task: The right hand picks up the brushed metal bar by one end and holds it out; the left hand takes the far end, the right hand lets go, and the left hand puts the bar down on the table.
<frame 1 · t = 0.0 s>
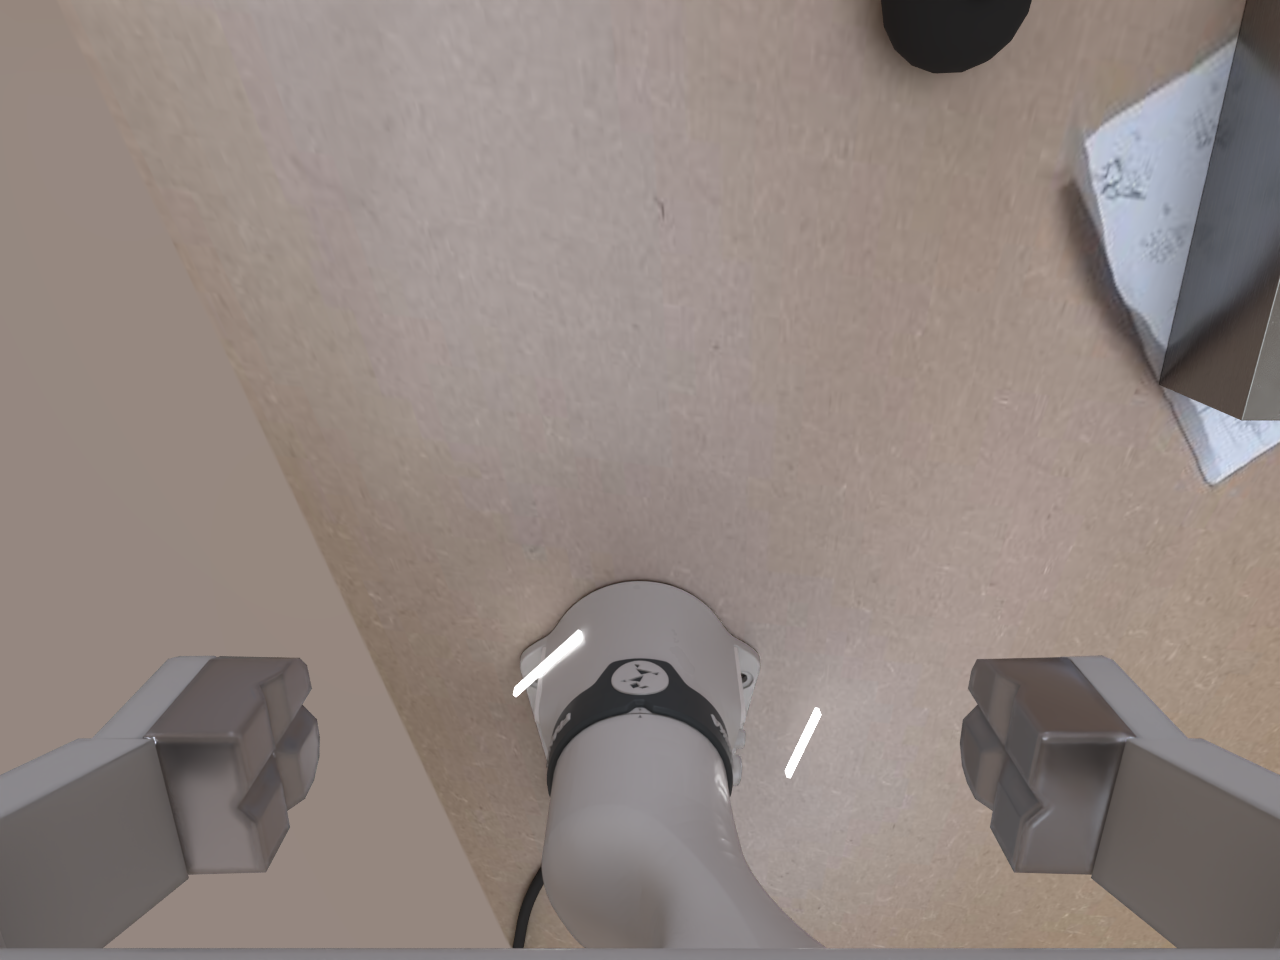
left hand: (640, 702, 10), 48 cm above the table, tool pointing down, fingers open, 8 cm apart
bar: (1246, 175, 53), on the table
bomb: (931, 6, 50), on the table
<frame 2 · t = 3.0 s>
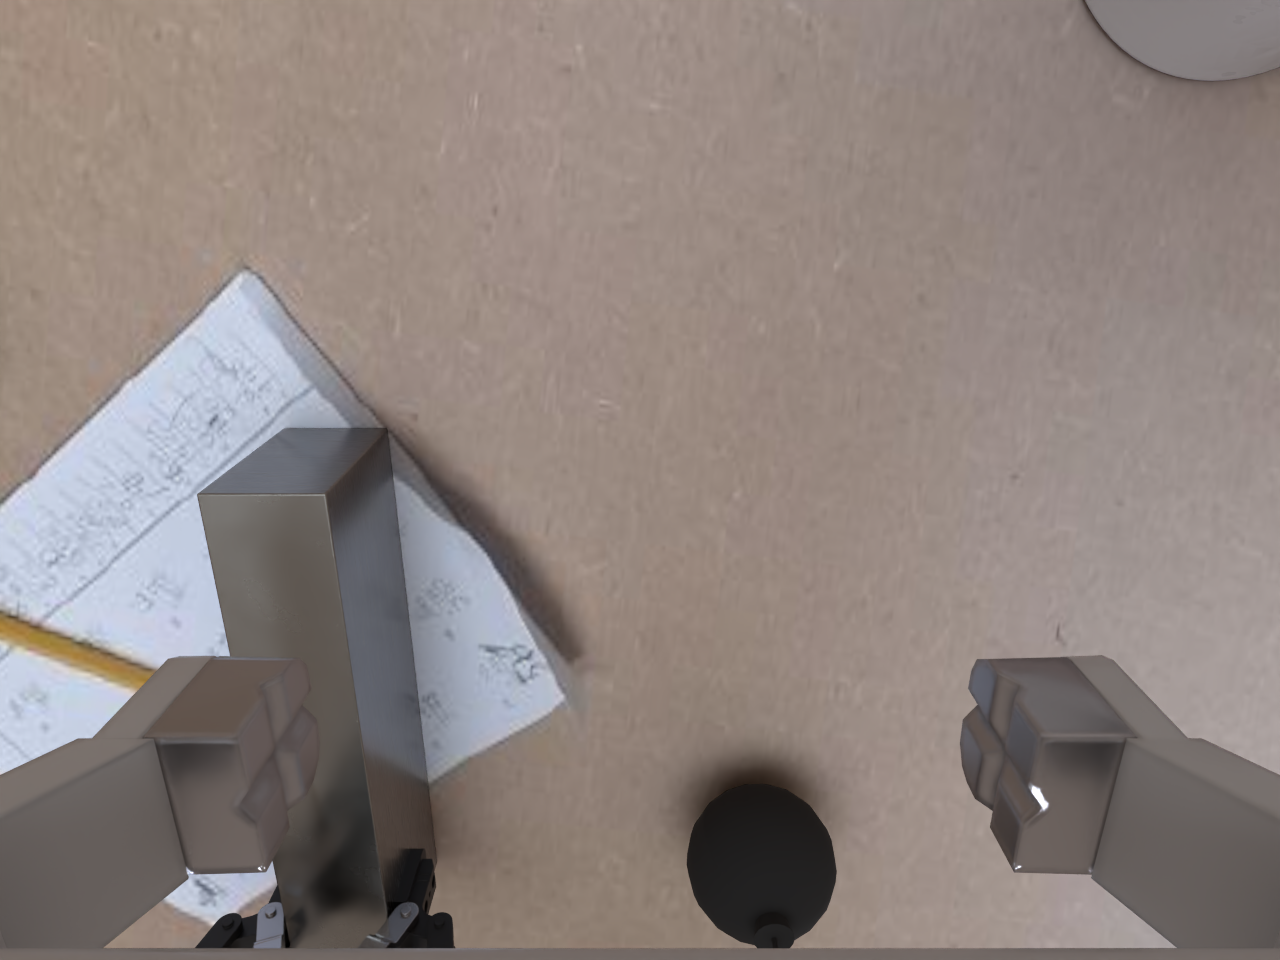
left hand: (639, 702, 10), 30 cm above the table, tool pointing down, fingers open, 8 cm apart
bar: (368, 668, 45), on the table, touching right hand
bomb: (750, 805, 49), on the table
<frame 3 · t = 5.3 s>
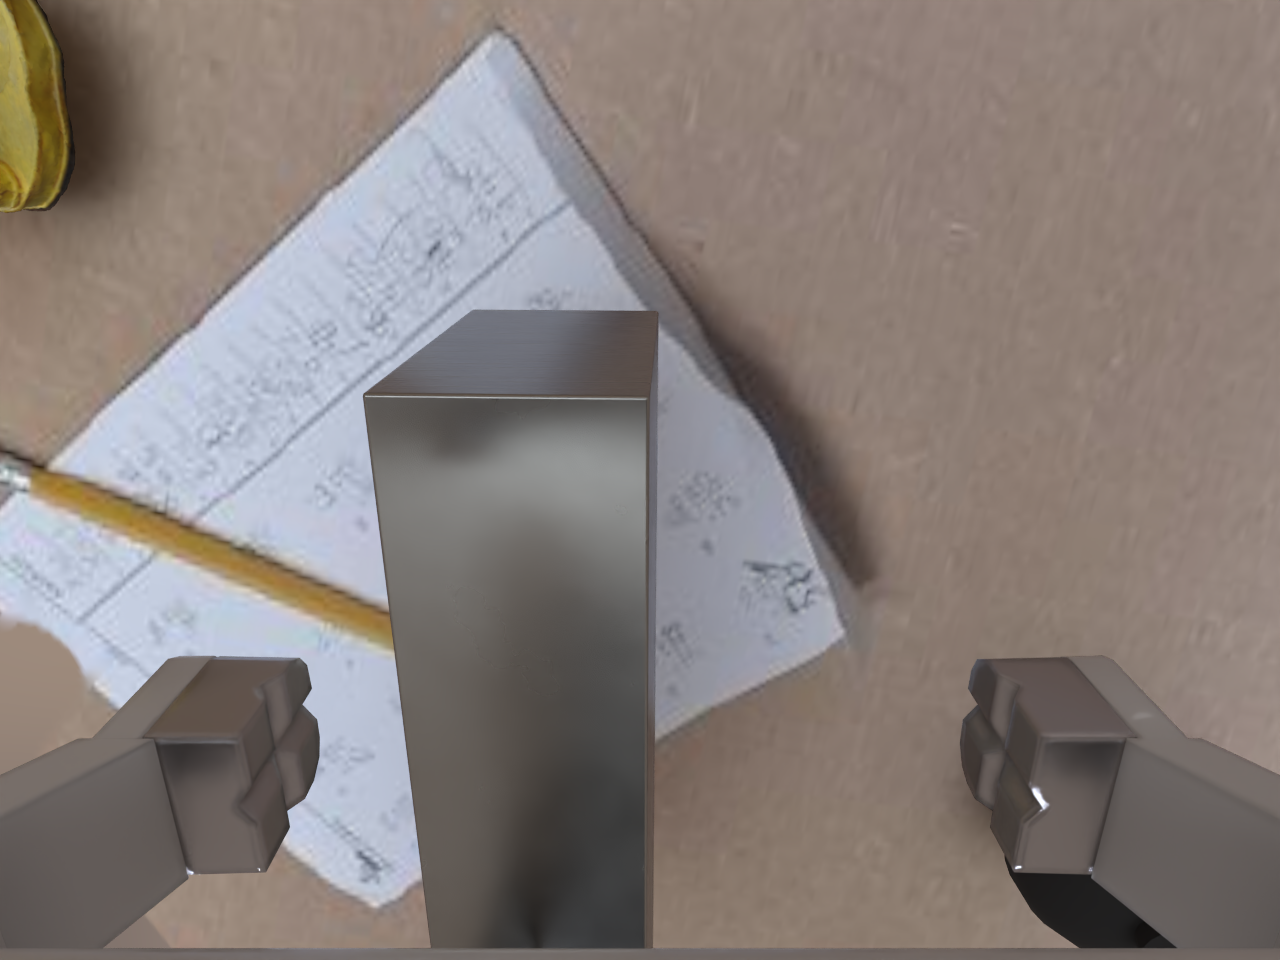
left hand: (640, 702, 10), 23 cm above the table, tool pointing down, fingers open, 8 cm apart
bar: (578, 729, 27), point 9 cm above the table, touching right hand
bomb: (1062, 779, 38), on the table
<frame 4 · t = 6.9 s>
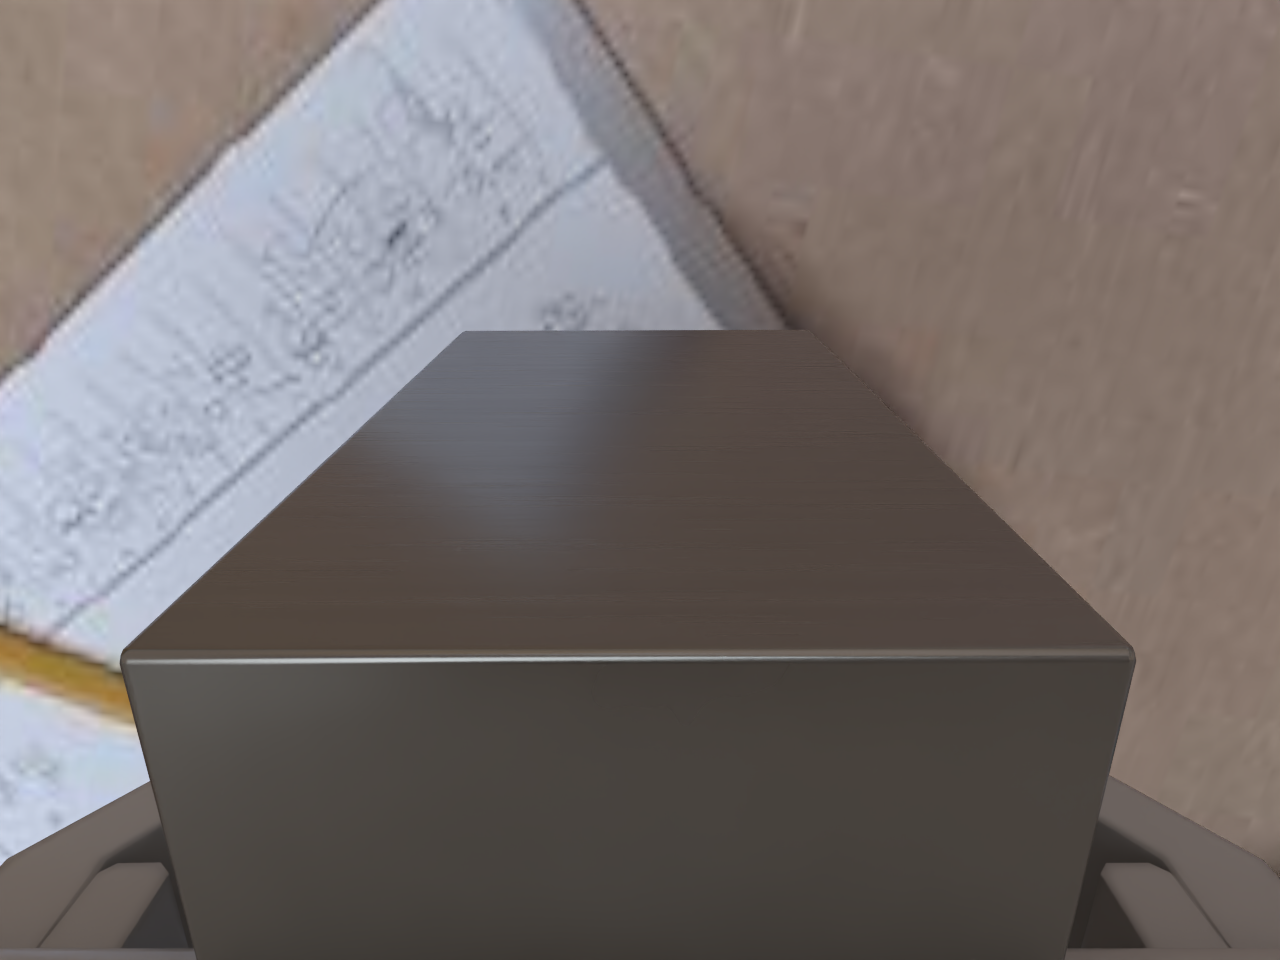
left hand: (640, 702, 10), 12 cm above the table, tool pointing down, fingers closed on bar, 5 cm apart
when the right hand's fingers open (13 cm above the table, at t = 8.1 s): bar stays where it is, held by the left hand.
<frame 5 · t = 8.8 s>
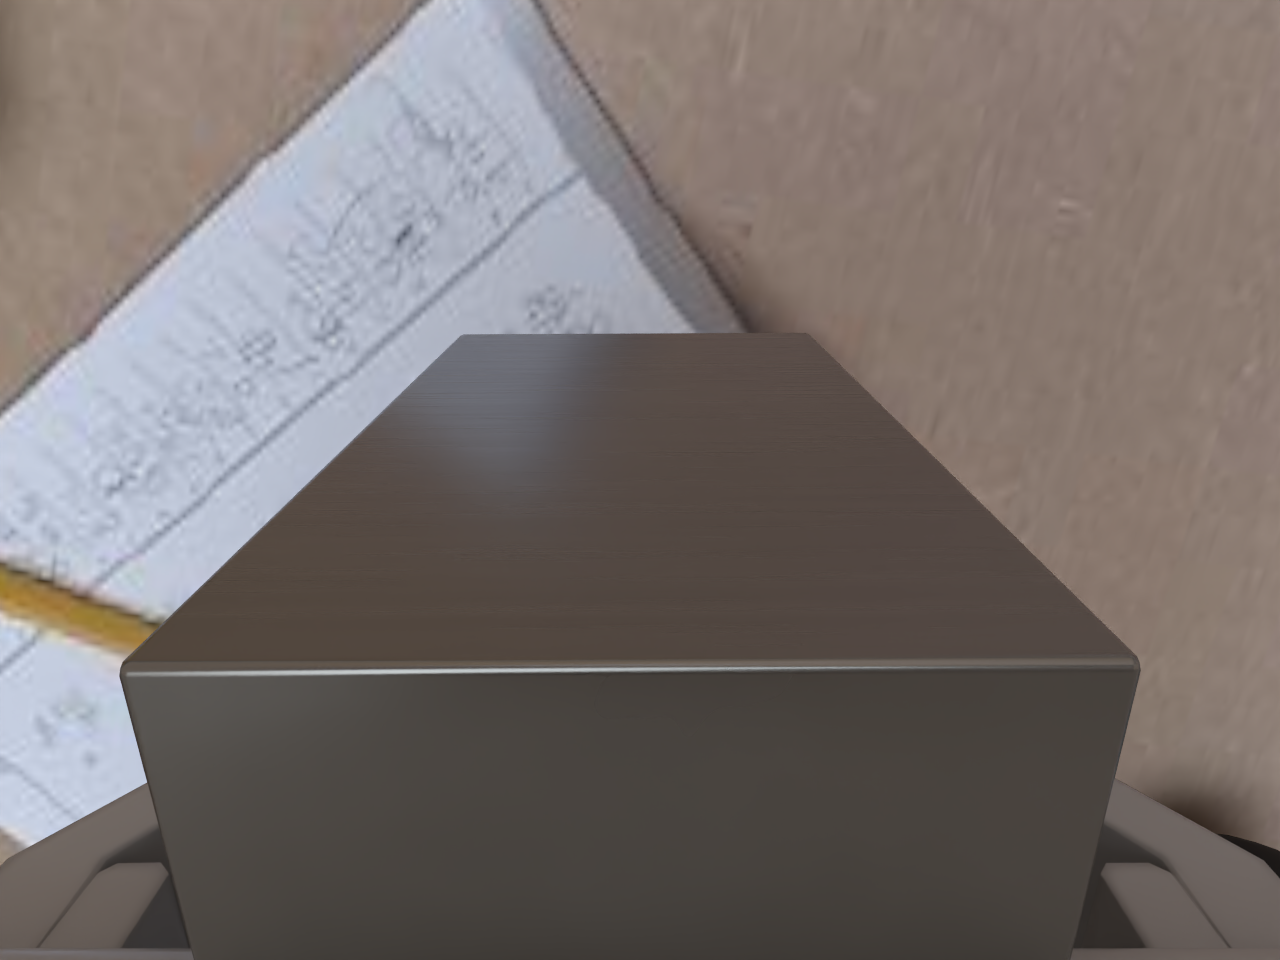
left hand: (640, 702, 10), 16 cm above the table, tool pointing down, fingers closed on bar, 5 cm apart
bomb: (1161, 863, 33), on the table
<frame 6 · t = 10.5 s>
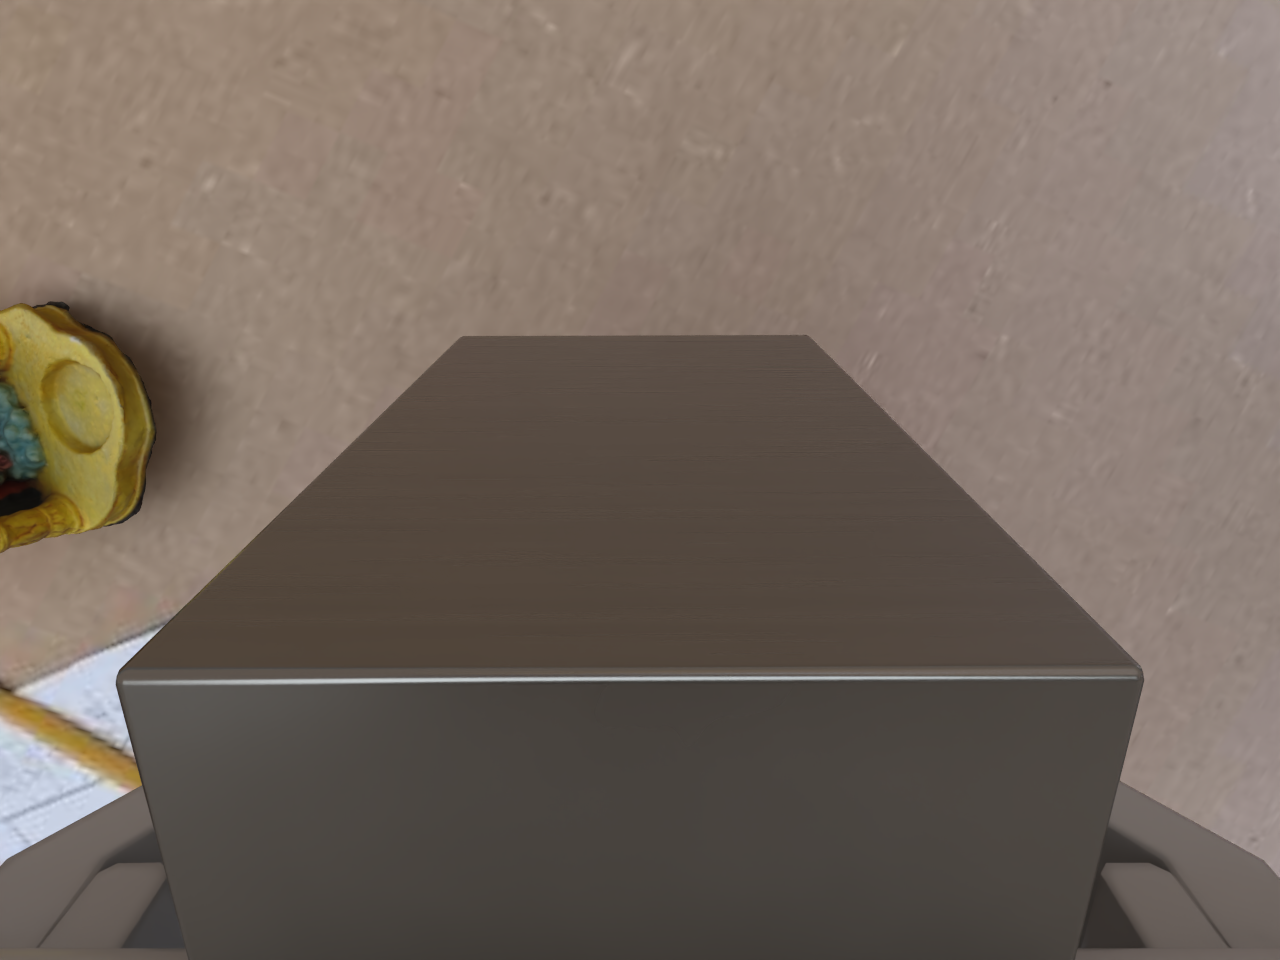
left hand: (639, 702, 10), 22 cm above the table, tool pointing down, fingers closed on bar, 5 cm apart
shrine: (51, 398, 31), on the table
when the left hand's fingers open (4 cm above the table, at t = 13.9 s): bar stays where it is, on the table.
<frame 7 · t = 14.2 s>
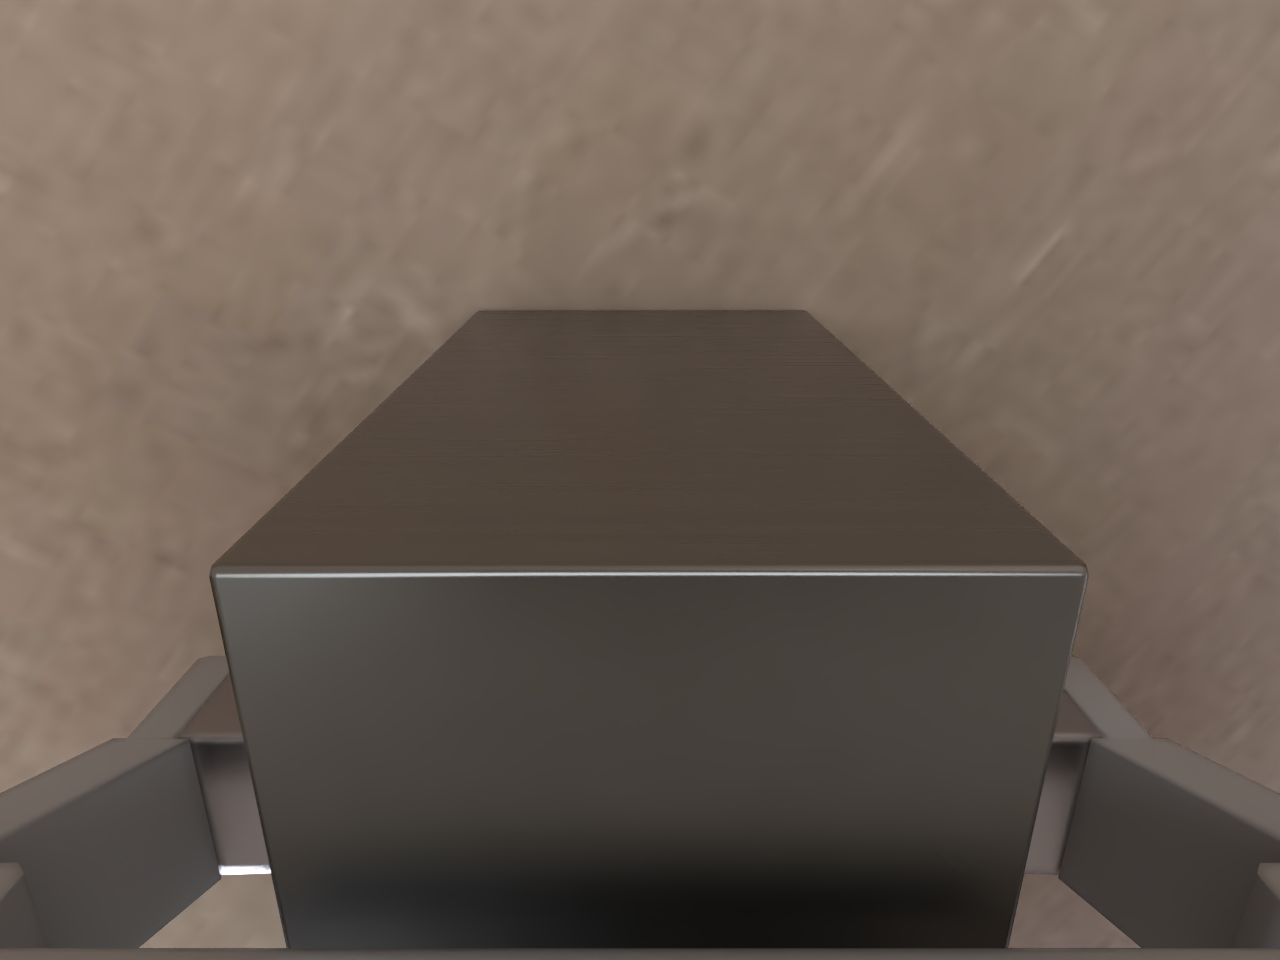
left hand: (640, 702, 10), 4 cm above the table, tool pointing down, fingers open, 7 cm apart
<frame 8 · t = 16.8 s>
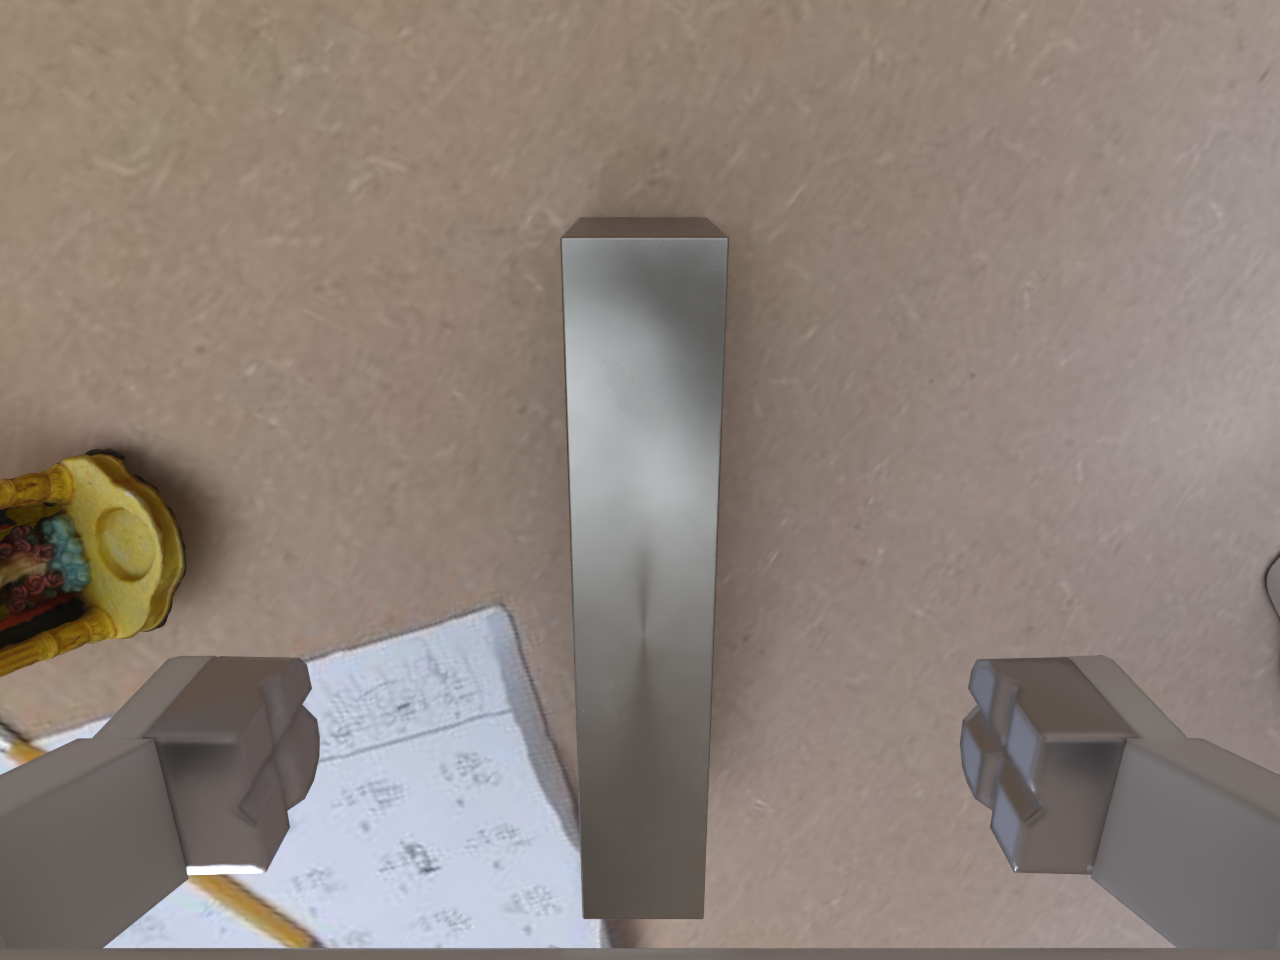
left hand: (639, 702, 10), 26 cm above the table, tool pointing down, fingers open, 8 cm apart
bar: (643, 534, 38), on the table
shrine: (96, 517, 38), on the table
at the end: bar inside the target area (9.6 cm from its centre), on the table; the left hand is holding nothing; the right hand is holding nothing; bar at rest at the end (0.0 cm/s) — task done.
